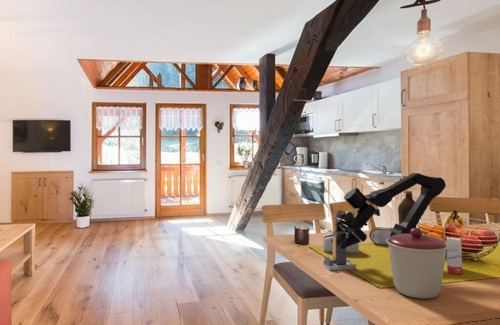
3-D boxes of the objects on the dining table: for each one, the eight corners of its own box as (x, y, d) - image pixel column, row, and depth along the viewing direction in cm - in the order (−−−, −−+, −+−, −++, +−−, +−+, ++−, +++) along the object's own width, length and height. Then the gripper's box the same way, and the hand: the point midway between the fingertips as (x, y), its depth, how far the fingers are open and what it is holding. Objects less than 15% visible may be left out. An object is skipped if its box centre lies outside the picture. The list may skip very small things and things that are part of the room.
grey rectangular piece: (349, 263, 141) (349, 255, 140) (356, 268, 134) (355, 260, 134) (323, 265, 139) (323, 256, 139) (329, 270, 133) (329, 261, 133)
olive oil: (407, 241, 175) (406, 192, 174) (393, 236, 185) (393, 190, 185) (424, 239, 177) (424, 192, 177) (410, 235, 188) (410, 190, 187)
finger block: (342, 262, 139) (342, 231, 139) (346, 265, 135) (346, 233, 135) (332, 263, 138) (332, 231, 138) (336, 266, 134) (335, 233, 134)
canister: (377, 283, 119) (376, 223, 119) (426, 281, 120) (426, 221, 120) (404, 306, 101) (403, 235, 101) (462, 303, 102) (462, 233, 102)
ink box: (462, 275, 126) (462, 243, 126) (446, 273, 128) (446, 241, 128) (461, 268, 133) (461, 238, 133) (446, 266, 136) (446, 236, 136)
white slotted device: (358, 249, 161) (358, 231, 158) (359, 255, 157) (360, 237, 153) (321, 248, 164) (322, 230, 160) (322, 254, 160) (322, 236, 156)
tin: (401, 244, 169) (401, 227, 169) (402, 246, 166) (402, 229, 166) (369, 243, 173) (369, 226, 173) (369, 244, 170) (369, 227, 170)
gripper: (339, 199, 146) (314, 226, 145) (358, 206, 127) (330, 237, 126) (356, 217, 147) (332, 244, 146) (378, 226, 129) (351, 257, 127)
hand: (336, 245), depth 136 cm, fingers open, 9 cm apart
